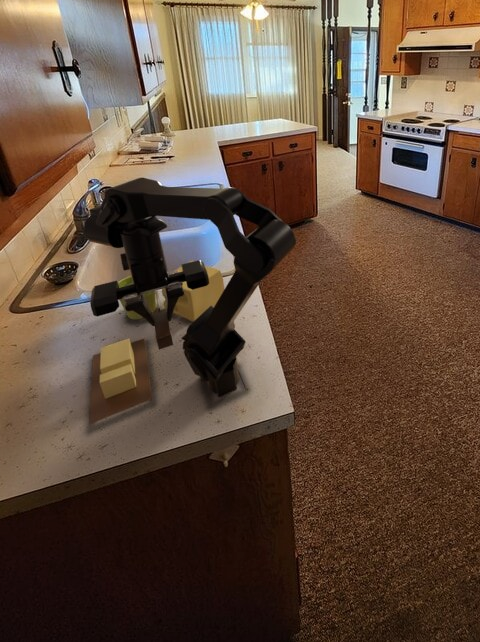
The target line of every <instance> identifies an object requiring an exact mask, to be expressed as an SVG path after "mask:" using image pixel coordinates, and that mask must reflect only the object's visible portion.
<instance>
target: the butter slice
mask: <svg viewBox="0 0 480 642" xmlns="http://www.w3.org/2000/svg"><path fill="white" fill-rule="evenodd" d="M100 386H101V388H102V391H103V394H104V397H105V399H106V398H109V397H111V396H114V395H117V394H119V393H122V392H124V391H127V390H130V389H132V388H135V387H136V379H135V375H134V372H133V369H132V366H131V364H129V365H126V366H124V367H121V368H118V369H115V370H112V371H109V372H107V373H104V374H101V375H100Z"/></svg>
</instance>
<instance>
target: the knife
mask: <svg viewBox="0 0 480 642" xmlns="http://www.w3.org/2000/svg"><path fill="white" fill-rule="evenodd" d="M159 294H160V293H159V289H158V290H155V295H156V308H157V310H155V311H154V312H153V313H152V314H153V317H154V332H155V340H156V343H157V348H158V350H163V349H166V348H168V347H171V346H174V341H173V335H172V330H171V329H172V328H171V325H170V322H169V320H168V317H167V312H166V308H165V309H164V308H162V306H161V300H160V295H159Z"/></svg>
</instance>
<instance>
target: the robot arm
mask: <svg viewBox="0 0 480 642" xmlns="http://www.w3.org/2000/svg"><path fill="white" fill-rule="evenodd" d="M103 197H104V198H103V199H102V202H101V205H97V206H94V207H91V208H90V209H89V211H88V212H89V214H90V215H89V216H88V217H87V219H86V220H85V223H84V226H83V230H82V233H83V236H84V238H85V239H86V240H87V241H89V242H91V243H93V244H94V243H95V244H99V245H102V246H106V247H111V248H114V249H121V248H123V249H124V252H121V253H120V254H119V255H120V261H121V266H122V270H123V271H124V272H127V271H129V272H130V276H132V280H133V283H134V284H131V285H127V286H124V287H120V288H119V284H118V282H119V281H118V280H113V281H108V282H105V283H100V284H97V285H94V286H93V288H92V289H91V293H90V309H91V312H92V315H93V316H94V317H97V318H98V317H101V316H105V315H108V314H112V313H115V312H116V311H117V310H118V308H119V307H120V303H119V302H120V300H119V299H122V298H123V301H125V309H126V311H134V312H136V313H137V314H139V315H140V316H142V317H143V318H142V319H144V320H145V321H146V322H147V323H149V324H150V325H151V326H152V327H153V328H155V326H154V317H153V313H152V312H151V309H150V307H149V304H148V302H147V300H146V297H145V294H144V293H147V292H151V291H154V290H158V291H159V290H162V288H165V296H166V312H167V317H168V320H169V323H170V322H171V321H172V318H173V315H174V313H173V311H174V308H175V305H176V303H177V301H178V299H179V297H181V296H183V295H184V289H183V286H182V285H183V282H186V283H187V287H188V288H190V289H192V290H194V289H197V288H201V287H204V286H207V285H208V284H209V278H208V273H207V270H206V268H205V266H206V265H205V262H204V261H202V260H200V259H197V260H192V261H193V262H190V261H188V262H189V263H188V262H185V263H182V264H181V266H182V270H183V272H179V271H175V270H174V271H175V272H174V271H170V272H169V270H168V266H167V261H166V256H165V252H164V248H163V245H162V239H161V235H160V232H161V231H163V230H165V229H167V228H168V224H167V223H166V222H165V221H163V220H161V219H159V218H158V217H166V218H167V217H168V218H179V219H194V220H205V221H206V220H207V221H210V222H211V223H212V224H213V225H214V226H216V228H217V230H218V233H219V235H220V239H221V241H222V243H223V246H224V248H225V249H226V250H227V252H229V254H231V255H232V256H233V257H234V258H233V266H234V269H235V270H234V272H233V273H232V275H231V277H230V279H229V280H228V283H227V284H226V286H225V287H224V291H223V293H222V294H221V296H220V298H219V299H218V301H217V303H216V304H215V306H214V307H213V306H212V305H211V306H210V307H209V308H208V309H207V310H206V311H204V312H203V313H202V314H201V315H200V316H199V317H198V318H197V319H196V320H195V321H194V322H193V321H192V322H191V323H190V324H189V325H188V327H187V328H186V332H185V334H183V336H182V337H181V340H182V341H183V342H182V350H183V354H184V357H185V359H186V360H187V362H188V364H189V366H190V368H191V370H192V372H193V373H194V375H195V376H198V377H199V378H200V381H201V382H203V383H207V386H208V390H209V391H210V392H211V393H213V394H215V395H216V394H217V397H219V398H221V397H223V396H225V395H227V394H230V393H232V392H235V391H237V390H238V387H237V385H238V384H239V381H240V379H241V382H242V384H243V387H244V388H246V385H245V382H244V380H243V378H242V375H241V373H240V371H239V365H238V360H237V356H238V355H239V354H240V353H241V351H242V350H244V348H245V347H246V346H245V345H246V340H245V338H243V336H241V335H240V333H239V332H238V331H237V330H236V324H235V320H236V319H237V318H238V316H239V314H240V313H241V311H242V310H243V309H244V308H245V305H246V304H247V302H248V301H249V300H250V299H251V297H252V296H253V294H254V292H255V291H256V290H257V288H258V286H259V285H260V283H261V282H262V280H264V279H265V278H266V277H267V276H268V275H270V273H272V271H274V269H276V267H277V266H279V264H280V263H281V262H282V261H283V260H284V259H285V258H286V257H287V256H288V255H289V254H290V253H291V252H292V251H293V250H294V248H295V247H296V244H297V238H296V237H295V234H294V233H295V232H294V231H293V230H292V227H290V226H289V225H288V224H287V223H286V222H284V221H283V220H282V219H281V218H280V217H279V216H278V215H277V214H276V213H275V212H274V211H273V210H272V209H271V208H269V207H267V206H265V205H263V204H260V203H259V202H256V201H254V200H252V199H250V198H248V197H247V195H245V193H243V192H242V190H241V189H238V188H237V187H233V186H232V187H231V186H227V187H224V188H223V187H222V188H219V187H218V188H217V187H214V188H213V187H188V186H187V187H185V186H165V185H162V184H161V183H160V182H159V181H158V180H155V179H151V178H146V177H137V178H135V179H131V180H128V181H125V182H124V183H119V184H117V185H114V186H112V187H109V188H107V189H105V190H104V196H103ZM235 216H237V217H239V218H240V219H243V220H245V221H247V222H250V223H251V224H254V225H256V226H258V227H257V228H256V229H254V230H253V231H252V232H251V233H249V234H248V235H246V236H245V235H244V234H243V232H241V231H240V228H239V226H238V223H237V220H236V218H235Z"/></svg>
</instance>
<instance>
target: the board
mask: <svg viewBox="0 0 480 642" xmlns="http://www.w3.org/2000/svg"><path fill="white" fill-rule="evenodd" d="M130 343H131V346H132V349H133V353H134V364H135V374H134V375H135V379H136V387H135V388H132V389H130V390H127V391H124V392H122V393H119V394H117V395H114V396H111V397H109V398H106V399H105V397H104V394H103V391H102V388H101V386H100V375H101V374H102V373H101V370H100V357H101V352H99V353H96V354H93V355H92V370H91V371H92V372H91V386H90V404H89V420H88V423H89V425H91V424H94V423H97V422H99V421H102V420H104V419H106V418H109V417H111V416H113V415H116V414H118V413H121V412H124V411H127V410H129V409H131V408H134V407H137V406H139V405H141V404H143V403H146V402H149V401H151V400H152V399H153V396H152V388H151V387H152V386H151V380H150V371H149V370H150V369H149V363H148V353H147V347H146V338H141V339H138V340H134V341H132V342H130Z"/></svg>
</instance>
